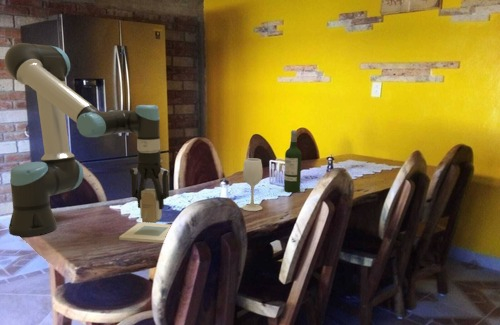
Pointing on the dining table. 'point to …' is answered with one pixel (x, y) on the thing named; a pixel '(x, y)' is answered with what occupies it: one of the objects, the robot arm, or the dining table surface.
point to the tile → (146, 232)
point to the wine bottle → (292, 166)
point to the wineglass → (252, 179)
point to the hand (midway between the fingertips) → (151, 217)
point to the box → (149, 205)
